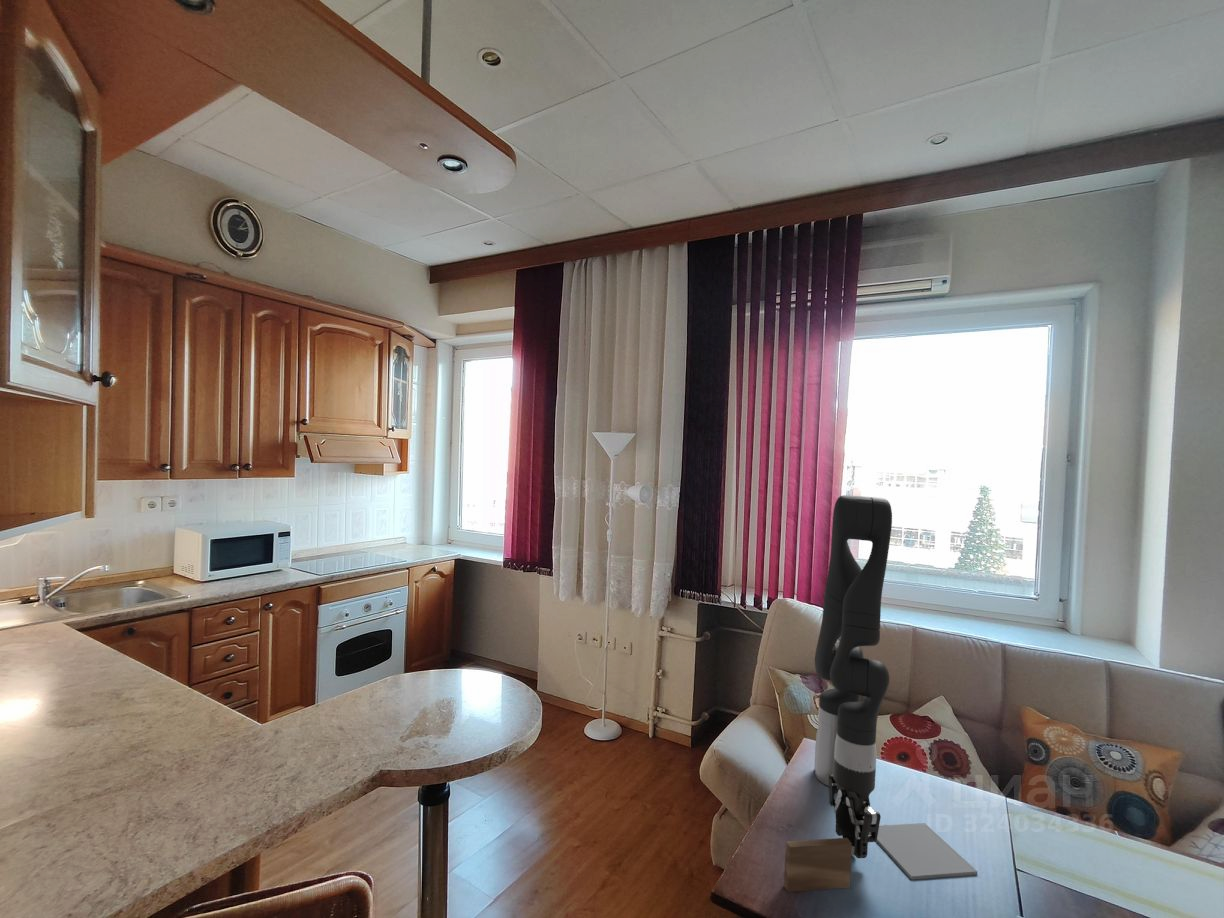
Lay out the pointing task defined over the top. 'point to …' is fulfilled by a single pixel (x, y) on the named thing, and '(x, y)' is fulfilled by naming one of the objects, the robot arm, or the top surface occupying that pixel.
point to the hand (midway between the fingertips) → (850, 844)
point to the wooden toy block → (817, 864)
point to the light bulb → (847, 824)
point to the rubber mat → (921, 852)
